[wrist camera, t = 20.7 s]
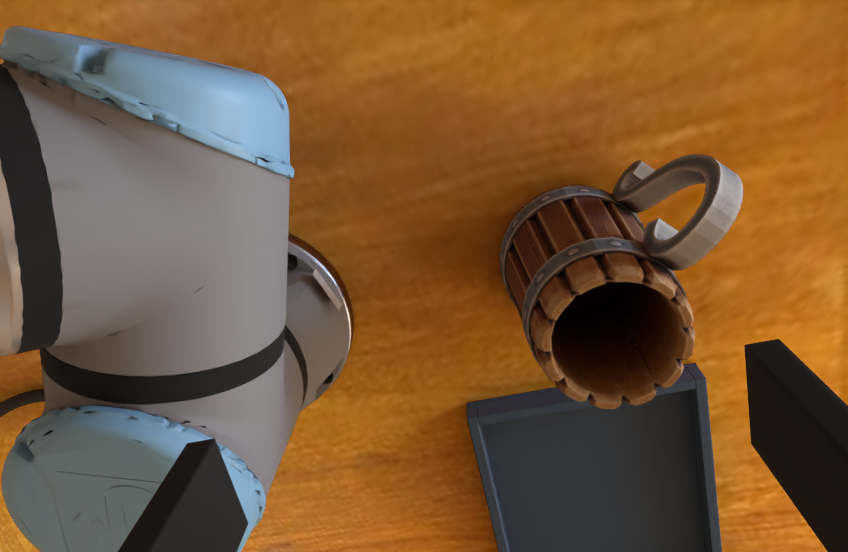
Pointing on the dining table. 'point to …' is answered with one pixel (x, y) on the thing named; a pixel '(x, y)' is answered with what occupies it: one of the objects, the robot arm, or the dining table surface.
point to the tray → (599, 471)
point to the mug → (614, 278)
